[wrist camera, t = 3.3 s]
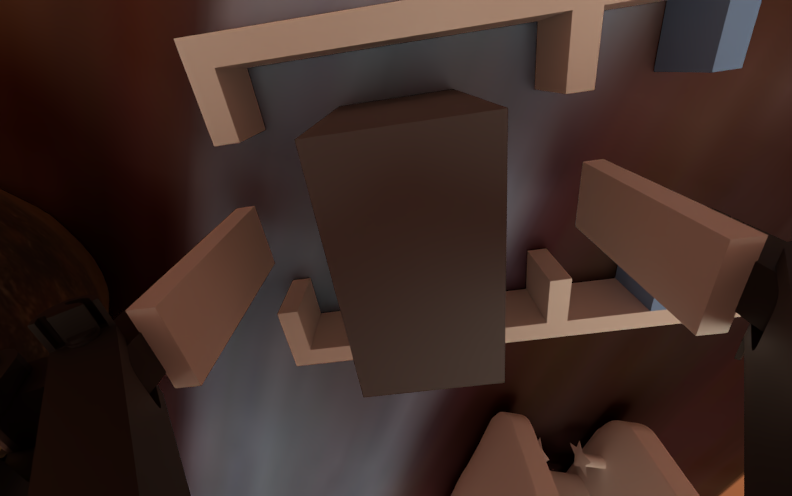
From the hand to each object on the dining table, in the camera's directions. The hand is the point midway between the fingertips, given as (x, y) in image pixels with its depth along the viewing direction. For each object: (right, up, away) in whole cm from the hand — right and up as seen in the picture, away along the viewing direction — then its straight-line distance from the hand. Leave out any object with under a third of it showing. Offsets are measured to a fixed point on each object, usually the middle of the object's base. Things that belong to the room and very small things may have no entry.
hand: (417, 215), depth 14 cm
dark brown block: (0, +1, +3) cm, 3 cm away
